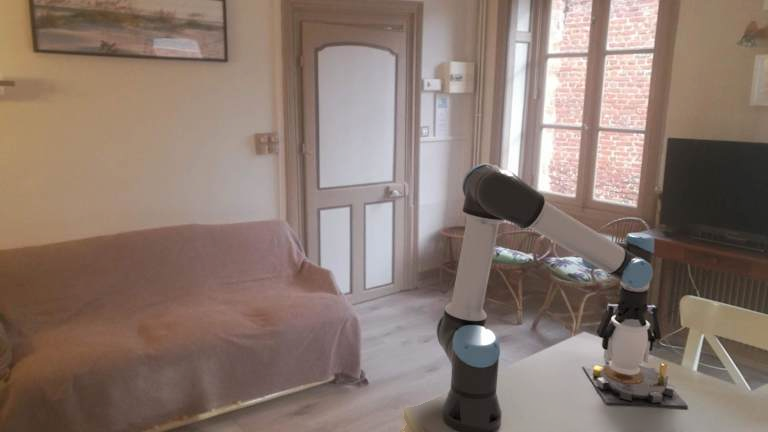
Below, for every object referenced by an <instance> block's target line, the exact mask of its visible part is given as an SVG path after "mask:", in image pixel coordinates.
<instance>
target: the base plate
mask: <svg viewBox="0 0 768 432" xmlns="http://www.w3.org/2000/svg"><path fill="white" fill-rule="evenodd" d="M595 366H596V365H582V369H584V370H583V372H584V373H585V374H586V376H587V377H588V379H589V380H590V382H591V384H592V385H593V386H594V388H595V390H596V391H597V392H598V394H599V397H600V398H601V399H602V401H603V402H604V403H605V406H614V407H615V406H616V407H617V406H618V407H640V408H641V407H645V408H649V407H650V408H668V409H669V408H670V409H671V408H674V409H688V408H689V405H688V404H687V403H686V402H685V401H684V400H683V398H682V397H681V396H680V395H679V394H678V393H677V391H675V390H674V391H673V395H672V396H670V395H666V394H664V395H663V397H662V402H656V403H652V402H651V401H649V400H648V399H636V398H632V401H630V400H626V399H623V398H620V394H618V393H615V392H613V391H611V390H610V389H601V388H600V387H599V386H598V385H596V383H597V378H599V377H597V376H593V369H594V367H595ZM599 366H600V367H603V366H604V365H599ZM647 368H648V369H651V370H653V371H655V372H658V371H657V369H656V368H655V367H654V368H653V367H647Z"/></svg>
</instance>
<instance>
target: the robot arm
mask: <svg viewBox="0 0 768 432" xmlns="http://www.w3.org/2000/svg"><path fill="white" fill-rule="evenodd" d="M461 186H462V193H463V196H464V199H463V200H464V201H463V206H462V214H463V215H464V217H465V218H466V223H465V227H464V232H463V233H464V234H463V238H462V242H461V243H462V244H461V248H460V249H461V250H460V254H459V260H458V264H457V265H458V266H457V270H456V277H455V281H454V287H453V291H452V292H453V293H452V298H451V302H450V303H447V304H446V305H445V307H444V309H443V310H444V311H443V314H442V315H441V316H440V318H439V319H438V321H437V324H436V337H437V340H438V343H439V344H440V346H441V348H442V350H443V351H444V353H445V354H446V357H447V358H448V360H449V362H450V364H451V378H450V379H451V380H450V389H449V391H448V393H447V396H446V398H445V401H444V403H443V406H442V419H443V421H444V422H445V423H446V424H447V426H449V427H450V428H452V429H453V430H456V431H459V432H494V431H495V430H497V429H498V428H499V427H500V426H501V424H502V410H501V406H500V403H499V399H498V395H497V387H498V376H499V375H498V373H499V363H500V355H501V348H500V340H499V337H498V336H497V334H496V333H495V332H494V331H493V330H491V329H490V328H486V322H487V317H488V315H487V313H486V311H485V310H484V309H483V307H484V304H485V297H486V294H487V287H488V283H489V279H490V278H489V277H490V273H491V269H492V268H491V267H492V262H493V258H494V252H495V247H496V246H495V245H496V243H497V242H496V241H497V236H498V231H499V226H500V225H501V224H502V223H503V222H505V221H506V222H509V223H512V225H513V224H514V225H516V226H517V227H518V228H520V229H523V230H526V229H530V230H532V231H534V232H535V233H538V234H539V235H541V236H543V237H545V238H546V239H547V240H550V241H551V242H553V243H554V244H557V245H558V246H559V247H561V248H563V249H565V250H567V251H569V252H571V253H572V254H574V255H575V256H577V257H579V258H581V261H582V264H583V266H584V267H585V268H586V269H588V270H601V271H603V272H605V273H607V274H608V275H610V276H611V277H613V278H615V279H616V280H618V281H619V282H620V283H619V284H620V285H621V286H620V287H619V290H618V291H619V293H618V294H619V295H618V302H617V303H616V304H611V303H609V302H608V303H606V306H605V311H604V312H605V313H604V314H603V316H602V319H601V321H600V323H599V325H598V328H597V330H596V334H597V335H598V337H599V338H602V341H601V346H602V347H601V348H602V349H603V350H604V351H603V352H604V353H603V358H604V359H605V362H606V361H610V352H611V344H612V340H611V339H610V337H611V336H612V335H613V333H614V330H615V328H616V326H614V325H613V324H612V322H611V318H612V316H614V313H616V310H617V311H618V312H617V313H616V314H615V315H616V317H615V318H614V319H615V320H616V321H617V322H618V323H620V324H621V323H622V322H624V321H625V319H627V320H629V319H634V320H637V319H638V320H639V322H640V324H641V326H645V325H646V324H647V323H646V321H647V319H646V318H645V316H644V314H645V313H646V312H648V314H649V319H650V326H651V329H650V328H649V329H648V330H647V332H648V343H647V349H646V352H645V355H644V358H643V361H642V362H644V363H646V364H647V363H649V355H650V352H652V351H653V346H654V343H655V342H656V340H661V339H662V335H661V331H660V324H659V320H658V307H656V305H654V304H651V305H648V298H649V288H650V282H651V281H652V279H653V276H654V269H653V259H654V254H655V238H654V237H653V236H652V235H649V234H648V233H642V232H629V233H626V235H625V239H624V240H623V241H612V240H611V239H609V238H607V237H606V236H604V235H602V234H601V233H599V232H597V231H596V230H594V229H593V228H591V227H589V226H587V225H586V224H584V223H582V222H581V221H578V220H577V219H575V218H574V217H572V216H571V215H570V214H567V213H566V212H564V211H562V210H561V209H559V208H558V207H555V206H554V205H552V204H550V203H549V202H547V199H546V197H545V195H544V194H542V193H540V192H539V191H538V190H536V189H535V188H533V187H531V185H529V184H527V183H526V182H525V181H524V180H523V179H522V178H520V177H519V176H517V175H516V174H515V173H513V172H511V171H510V170H506V169H504V168H503V167H501V166H499V165H495V164H493V163H491V164H490V163H480V164H478V165H477V164H476V165H475V166H473V167H472V168H470V169H469V170H468V171H467V172H466V174H465V175H464V177H463V180H462V185H461ZM621 316H622V317H621Z"/></svg>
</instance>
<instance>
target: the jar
mask: <svg viewBox="0 0 768 432" xmlns="http://www.w3.org/2000/svg"><path fill="white" fill-rule="evenodd" d="M615 317H616V314H613V316H612V318H611V320H610V323H611V322H612V324H613V325H614V326H616V328H615V330H614V333H613V335H612V336H611V337H610V339H611V340H612V344H611V352H610V358H611V362H610V364H609V365H610V368H611V369H612V370H614V371H616V372H618V373H621V374H625V375H635V374H638V373H639V372H640V368H639V366H640V364H643V362H644V361H643V358H644V355H645V352H646V349H647V343H648V332H647V330H648V329H650V327H651V323H650V322H649V321H648V320H646V323H647V324H646V325H645V326H641V324H640V322H639V320H638V319H637V320H634V319H629V320H627V319H625V321H624V322H622V323H621V324H620V323H618V322H617V321H616V320H615V319H614V318H615ZM621 317H622V316H621Z"/></svg>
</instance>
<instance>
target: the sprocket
mask: <svg viewBox="0 0 768 432" xmlns="http://www.w3.org/2000/svg"><path fill="white" fill-rule="evenodd" d="M610 362H611V360H610V361H606V360H605V365H602V366H603V367H600V366H601V365H594V366H595V367H594V369H593V376H597V377H599V378H597V383H596V385H598V386H599V387H600V388H601V389H610V390H611V391H613V392H615V393H618V394H620V398H623V399H626V400H630V401H632V398H636V399H648V400H649V401H651V402H652V403H656V402H662V397H663V395H664V394H666V395H670V396H672V395H673V391H675V389H674V388H675V385H674V384H672V383H668V379H669V375H667V369H668V364H666V363H662V362H661V363H660V365H659V369H658V371H657V372H655V371H653V370H651V369H648V368H649V367H645V364H644V363H641V364H640V366H639V368H640V372H639V373H638V374H635V375H625V374H621V373H618V372H616V371H614V370H612V369H611V368H610V365H609V364H610Z"/></svg>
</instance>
